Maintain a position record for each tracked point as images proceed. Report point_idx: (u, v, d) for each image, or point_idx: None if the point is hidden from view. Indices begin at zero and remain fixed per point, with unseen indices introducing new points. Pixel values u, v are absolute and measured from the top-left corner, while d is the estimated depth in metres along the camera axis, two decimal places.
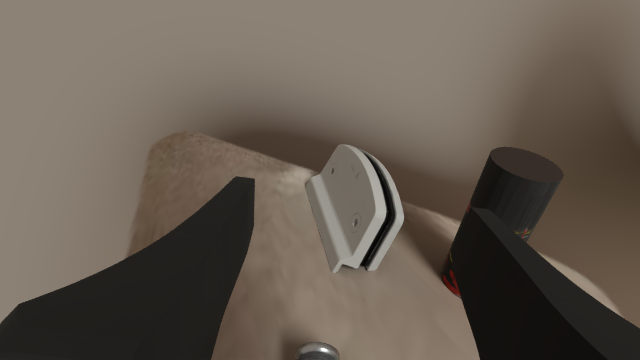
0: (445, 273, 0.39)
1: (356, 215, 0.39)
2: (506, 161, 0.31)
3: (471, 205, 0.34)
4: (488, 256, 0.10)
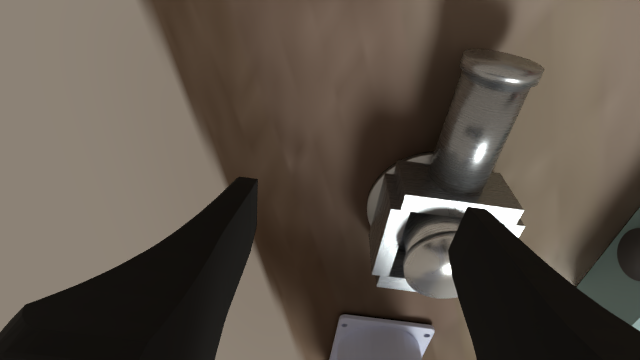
0: None
1: None
2: None
3: None
4: (485, 255, 0.10)
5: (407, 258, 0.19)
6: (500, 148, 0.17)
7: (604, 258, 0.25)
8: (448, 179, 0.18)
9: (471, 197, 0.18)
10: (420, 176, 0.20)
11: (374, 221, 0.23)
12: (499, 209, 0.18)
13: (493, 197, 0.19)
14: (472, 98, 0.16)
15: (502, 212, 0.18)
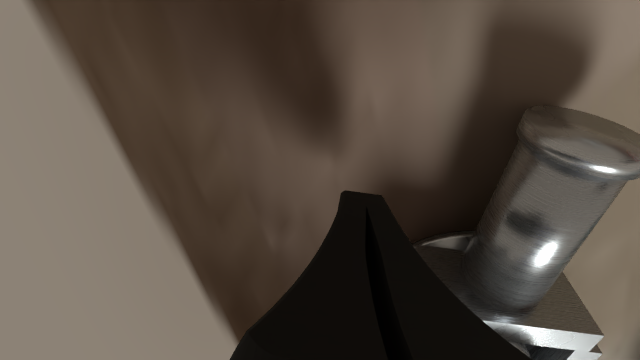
0: None
1: None
2: None
3: None
4: (366, 240, 0.10)
5: None
6: None
7: None
8: (494, 289, 0.13)
9: (527, 314, 0.13)
10: (450, 275, 0.14)
11: None
12: (568, 333, 0.13)
13: (556, 311, 0.13)
14: (541, 187, 0.10)
15: (572, 337, 0.13)
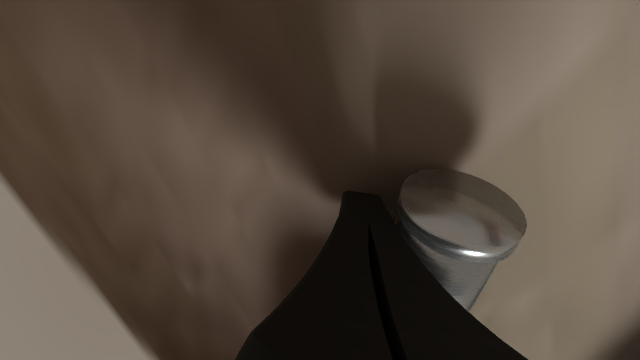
0: None
1: None
2: None
3: None
4: None
5: None
6: None
7: None
8: None
9: None
10: None
11: None
12: None
13: None
14: None
15: None
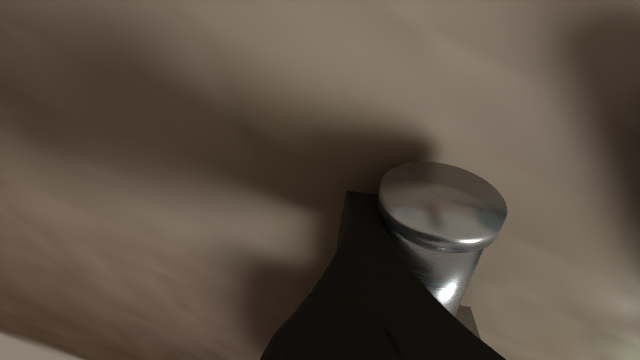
0: None
1: None
2: None
3: None
4: None
5: None
6: (453, 313, 0.11)
7: None
8: None
9: None
10: None
11: None
12: None
13: None
14: None
15: None
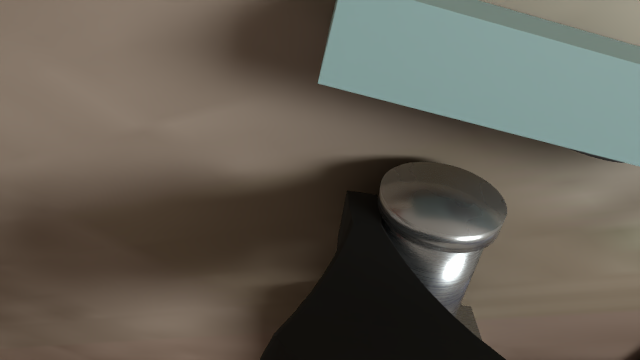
0: None
1: None
2: None
3: None
4: None
5: None
6: (453, 313, 0.11)
7: None
8: None
9: None
10: None
11: None
12: None
13: None
14: None
15: None
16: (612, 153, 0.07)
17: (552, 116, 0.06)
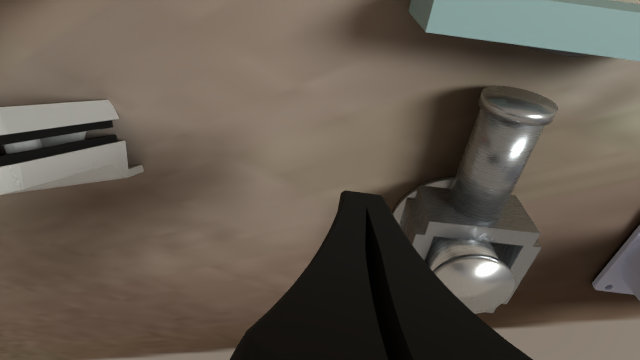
0: None
1: None
2: None
3: None
4: (366, 240, 0.10)
5: None
6: (517, 177, 0.19)
7: None
8: (469, 206, 0.20)
9: (491, 222, 0.20)
10: (441, 201, 0.21)
11: None
12: (517, 232, 0.19)
13: (511, 221, 0.20)
14: (491, 134, 0.17)
15: (520, 235, 0.20)
16: (568, 48, 0.14)
17: (535, 33, 0.14)
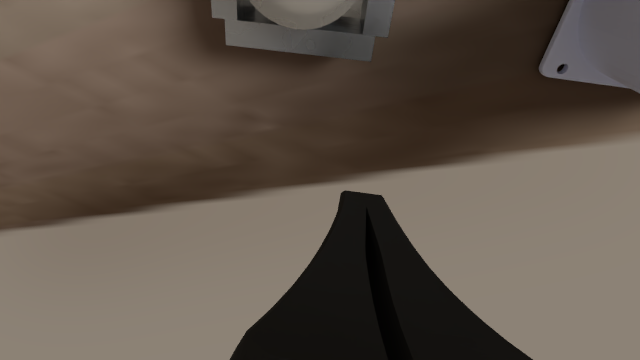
0: None
1: None
2: None
3: None
4: (366, 240, 0.10)
5: (286, 26, 0.13)
6: None
7: None
8: None
9: None
10: None
11: None
12: None
13: None
14: None
15: None
16: None
17: None
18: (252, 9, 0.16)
